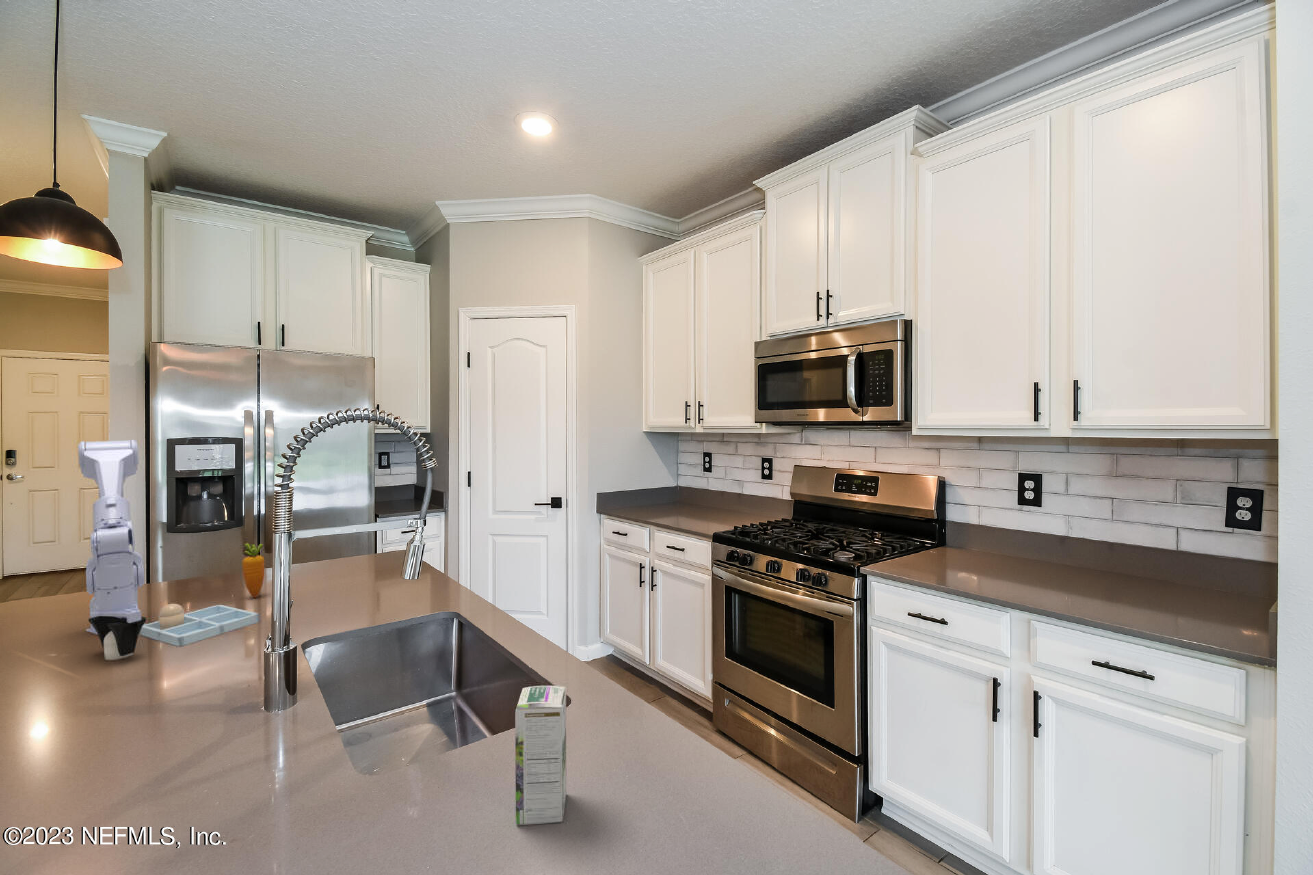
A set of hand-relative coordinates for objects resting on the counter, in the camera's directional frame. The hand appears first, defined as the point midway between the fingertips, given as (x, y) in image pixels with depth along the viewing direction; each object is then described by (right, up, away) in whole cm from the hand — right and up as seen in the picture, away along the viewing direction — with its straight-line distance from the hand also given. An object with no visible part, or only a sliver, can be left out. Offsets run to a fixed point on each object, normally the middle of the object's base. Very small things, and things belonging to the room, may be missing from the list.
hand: (119, 651), depth 123 cm
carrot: (+1, 0, +39) cm, 39 cm away
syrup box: (+96, -3, -48) cm, 107 cm away
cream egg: (0, -1, 0) cm, 2 cm away
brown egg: (0, 0, +14) cm, 13 cm away
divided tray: (+5, -1, +15) cm, 16 cm away
